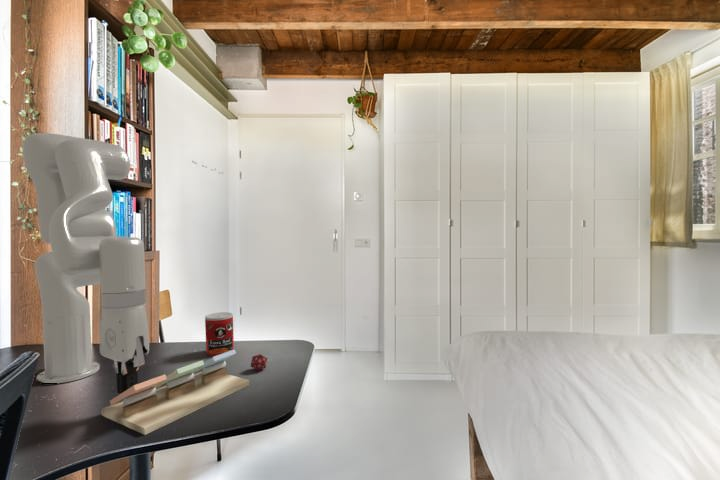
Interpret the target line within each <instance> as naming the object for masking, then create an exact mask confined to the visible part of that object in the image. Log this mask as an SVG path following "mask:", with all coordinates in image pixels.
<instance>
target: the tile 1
mask: <svg viewBox="0 0 720 480" xmlns="http://www.w3.org/2000/svg"><path fill="white" fill-rule="evenodd" d="M166 376H167V375H166V374H165V373H164V374H162V375H159V376H156V377H153V378H151V379H148V380H146V381H143V382H140V383H139V382H138V384H136V385H134V386H132V387H131V388H129V389H127V390H126V391H124V392H123V393H121V394H118V395H117V396H115V397H113V398H112V399H110V400H109V403H110V406H112V405H115V404H118V403H120V402H123V403H124V405H125V406H126V405H129V404H131V403H134V402H136V401H139V400H141V399H144V398H146V397H149V396H151V395H154V394H156V388H155V386H156V385H158V384H160V383H161V382H163V381H165V380H166V379H167V378H166Z"/></svg>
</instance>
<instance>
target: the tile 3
mask: <svg viewBox="0 0 720 480" xmlns="http://www.w3.org/2000/svg"><path fill="white" fill-rule="evenodd" d="M235 354H237V352H236V350H235V348H234V349H233V350H231V351H228V352H226V353H223V354H220V355H217V356H211V358H209V359H207V360H206V361H203V362H204V365H203V366H201V367H200V368H198V369H197V370H195V371H194V372H192V373H193V374H196V373H199V372H201V371H202V373H203V374H204V375H205V374H207V373H210V372H212V371H215V370H217V369H220V368H222V367H225V368H226V366H227V363H226V360H227V359H229V358H230V357H233V356H234V355H235Z"/></svg>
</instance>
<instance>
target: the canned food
mask: <svg viewBox="0 0 720 480" xmlns="http://www.w3.org/2000/svg"><path fill="white" fill-rule="evenodd" d="M204 319H205V320H204V323H205V325H204V326H205V352H206V354H207V355H208V356H209V357H214V356H217V355H220V354H223V353H226V352H228V351H231V350H234V349H235V344H234V343H235V341H234V315H233V313H232V312H225V311H223V312H215V313H214V312H213V313H210V314H206V315H205V317H204Z"/></svg>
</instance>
